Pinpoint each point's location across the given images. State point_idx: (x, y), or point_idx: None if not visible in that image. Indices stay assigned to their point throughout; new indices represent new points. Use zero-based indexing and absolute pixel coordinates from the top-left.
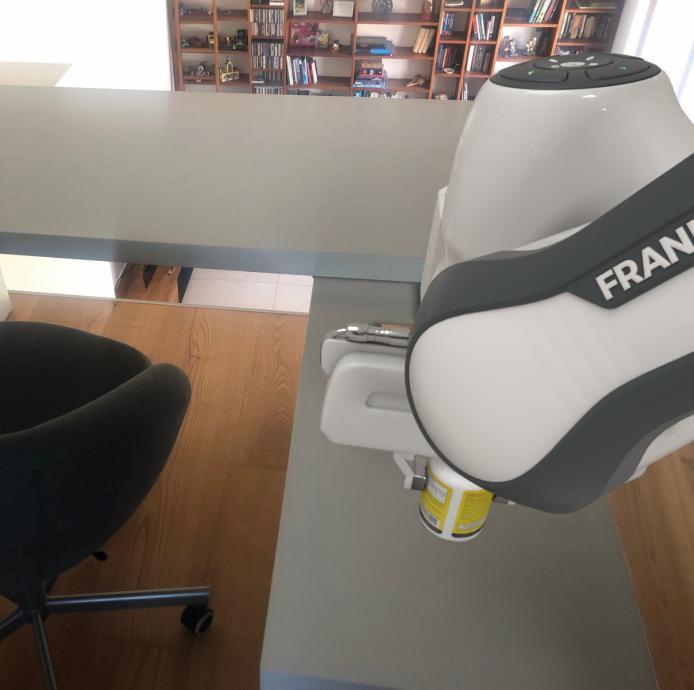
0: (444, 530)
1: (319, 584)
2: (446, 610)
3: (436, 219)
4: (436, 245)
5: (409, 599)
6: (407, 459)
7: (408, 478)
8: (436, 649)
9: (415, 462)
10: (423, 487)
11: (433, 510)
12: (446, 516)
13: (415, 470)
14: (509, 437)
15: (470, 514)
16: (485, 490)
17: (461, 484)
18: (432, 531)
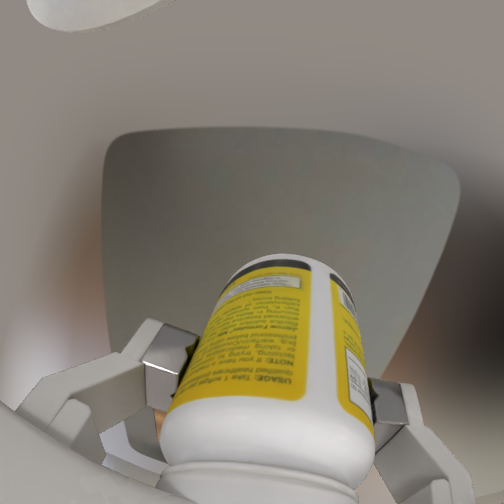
0: (326, 278)
1: (403, 249)
2: (272, 207)
3: None
4: None
5: (311, 223)
6: (442, 480)
7: (415, 415)
8: (295, 164)
9: (382, 451)
10: (376, 390)
11: (356, 329)
12: (332, 310)
13: (395, 436)
14: None
15: (270, 309)
16: (219, 388)
17: (314, 427)
18: (343, 281)
